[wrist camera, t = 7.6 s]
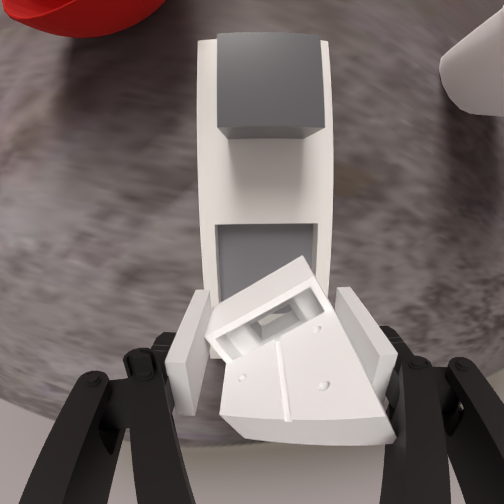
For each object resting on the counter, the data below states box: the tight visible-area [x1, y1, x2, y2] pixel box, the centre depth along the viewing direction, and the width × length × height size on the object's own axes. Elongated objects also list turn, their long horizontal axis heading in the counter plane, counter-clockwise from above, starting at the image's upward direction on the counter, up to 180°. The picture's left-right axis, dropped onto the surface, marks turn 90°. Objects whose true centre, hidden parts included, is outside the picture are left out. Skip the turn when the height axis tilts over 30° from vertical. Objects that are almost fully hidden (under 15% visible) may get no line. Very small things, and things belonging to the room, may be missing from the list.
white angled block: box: [204, 255, 397, 446], centre depth 13 cm, size 4×10×9 cm, turn 122°
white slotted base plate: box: [197, 32, 333, 359], centre depth 18 cm, size 9×24×8 cm, turn 1°
